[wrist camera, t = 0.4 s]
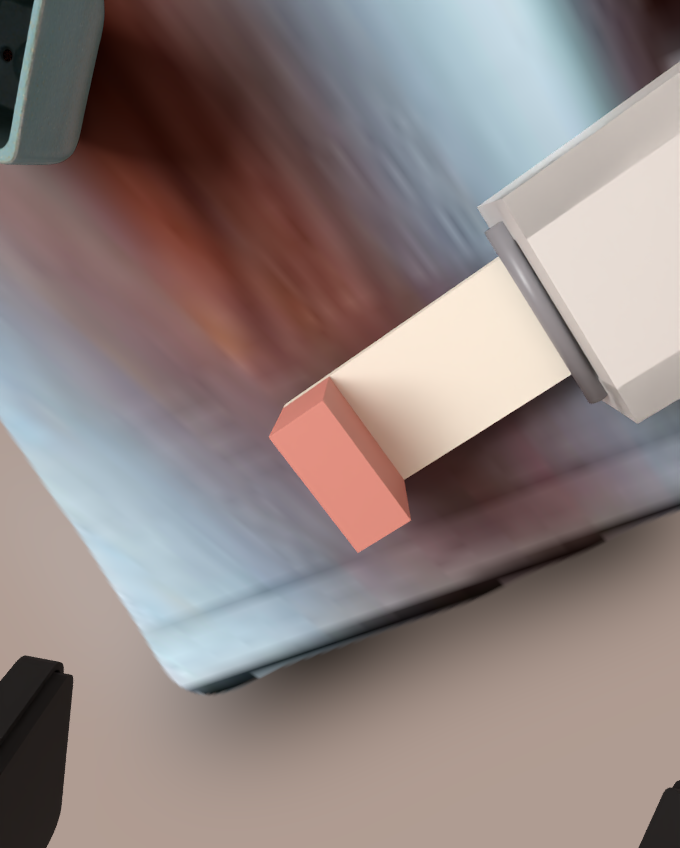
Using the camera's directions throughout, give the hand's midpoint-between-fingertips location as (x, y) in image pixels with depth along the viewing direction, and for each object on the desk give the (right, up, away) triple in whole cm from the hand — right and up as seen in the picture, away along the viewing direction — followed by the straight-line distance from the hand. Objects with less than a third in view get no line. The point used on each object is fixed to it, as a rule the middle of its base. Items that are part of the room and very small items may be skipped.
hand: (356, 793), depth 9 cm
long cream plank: (+9, +11, +21) cm, 26 cm away
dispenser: (+16, +16, +22) cm, 31 cm away
